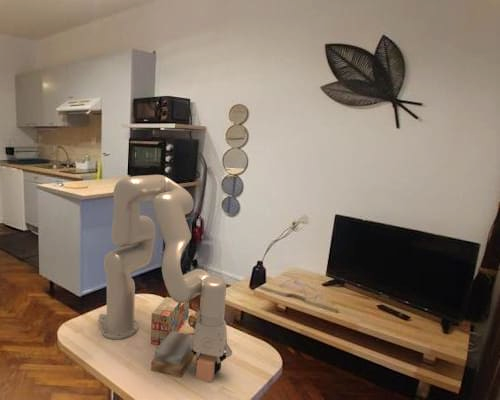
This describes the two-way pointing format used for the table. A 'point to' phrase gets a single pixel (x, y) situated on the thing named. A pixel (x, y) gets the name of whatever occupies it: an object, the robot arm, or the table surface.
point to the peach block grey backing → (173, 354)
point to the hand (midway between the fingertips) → (208, 369)
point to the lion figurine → (192, 320)
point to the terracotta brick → (206, 367)
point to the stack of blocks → (167, 319)
